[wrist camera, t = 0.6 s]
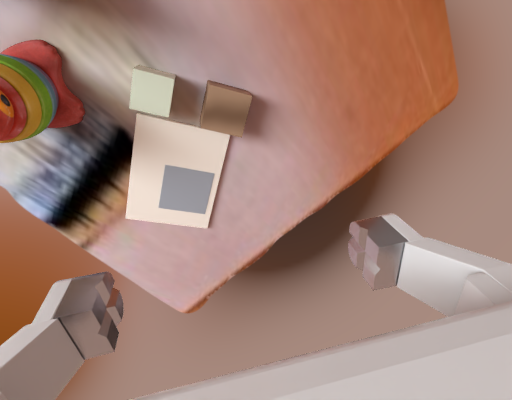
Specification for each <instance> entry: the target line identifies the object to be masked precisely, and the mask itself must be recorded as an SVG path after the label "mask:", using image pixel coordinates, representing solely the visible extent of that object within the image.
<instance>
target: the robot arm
mask: <svg viewBox="0 0 512 400" xmlns="http://www.w3.org/2000/svg"><path fill="white" fill-rule="evenodd" d="M349 232H350V233H351V235H352V236H353V237H352V238H351V240H350V241H349V244H348V247H349V248H348V250H349V255H350V258H351V260H352V262H353V264H354V265H355V267H356V268H358V269H360V270H362V271H363V278H364V279H365V280H366V282H367V283H368V284H369V286H370V287H371V288H372V290H377V289H383V288H387V287H392V286H397V287H398V288H400V289H401V290H403V291H405V292H407V293H409V294H410V295H412V296H413V297H415V298H417V299H419V300H420V301H422V302H424V303H425V304H427V305H429V306H431V307H432V308H434V309H436V310H438V311H439V312H441V313H443V314H445V315H446V316H448V317H446V318H443V319H439V320H435V321H431V322H427V323H423V324H419V325H415V326H412V327H408V328H404V329H400V330H396V331H392V332H388V333H385V334H381V335H377V336H373V337H369V338H365V339H361V340H358V341H353V342H350V343H346V344H342V345H338V346H334V347H330V348H326V349H323V350H319V351H315V352H311V353H307V354H303V355H300V356H296V357H291V358H288V359H284V360H280V361H276V362H272V363H268V364H264V365H260V366H257V367H253V368H249V369H245V370H241V371H237V372H233V373H230V374H226V375H222V376H218V377H214V378H210V379H206V380H203V381H199V382H195V383H191V384H187V385H183V386H179V387H175V388H171V389H168V390H164V391H160V392H156V393H153V394H149V395H145V396H141V397H137V398H133V399H129V400H512V264H509V263H506V262H503V261H500V260H497V259H494V258H491V257H487V256H484V255H481V254H478V253H475V252H472V251H469V250H466V249H463V248H459V247H456V246H453V245H450V244H447V243H444V242H441V241H438V240H435V239H431V238H423V237H422V236H421V235H419V234H418V233H417V232H416V231H415V230H414V229H412V228H411V227H410V226H409V225H407V224H406V223H405V222H404V221H403V220H402V219H400V218H399V217H398V216H397V215H395V214H393V213H389V214H386V215H381V216H378V217H374V218H369V219H364V220H359V221H355V222H351V224H350V230H349ZM113 285H114V279H113V277H112V275H111V273H109V272H103V273H97V274H92V275H87V276H82V277H76V278H71V279H66V280H61V281H57V282H56V283H54V284H53V286H52V288H51V289H50V291H49V293H48V295H47V297H46V299H45V301H44V302H43V304H42V306H41V308H40V309H39V311H38V313H37V315H36V317H35V319H34V321H33V322H32V324H30V325H26V326H24V327H23V328H22V329H21V330H19V331H18V332H17V333H16V334H14V335H13V336H12V337H11V338H10V339H8V340H7V341H6V342H5V343H3V344H2V345H1V346H0V400H55V399H56V398H57V397H58V395H59V394H60V393H61V391H62V390H63V389H64V387H65V386H66V385H67V384H68V382H69V381H70V380H71V378H72V377H73V376H74V375H75V373H76V372H77V371H78V369H79V368H80V366H82V364H83V363H84V360H85V359H89V358H93V357H97V356H101V355H104V354H108V353H112V352H114V351H115V347H116V343H117V338H118V334H119V332H118V330H117V328H116V326H117V325H118V324H119V323H120V322H121V320H122V317H123V300H122V296H121V294H120V292H119V291H118V290H117V289H115V288H113Z"/></svg>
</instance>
